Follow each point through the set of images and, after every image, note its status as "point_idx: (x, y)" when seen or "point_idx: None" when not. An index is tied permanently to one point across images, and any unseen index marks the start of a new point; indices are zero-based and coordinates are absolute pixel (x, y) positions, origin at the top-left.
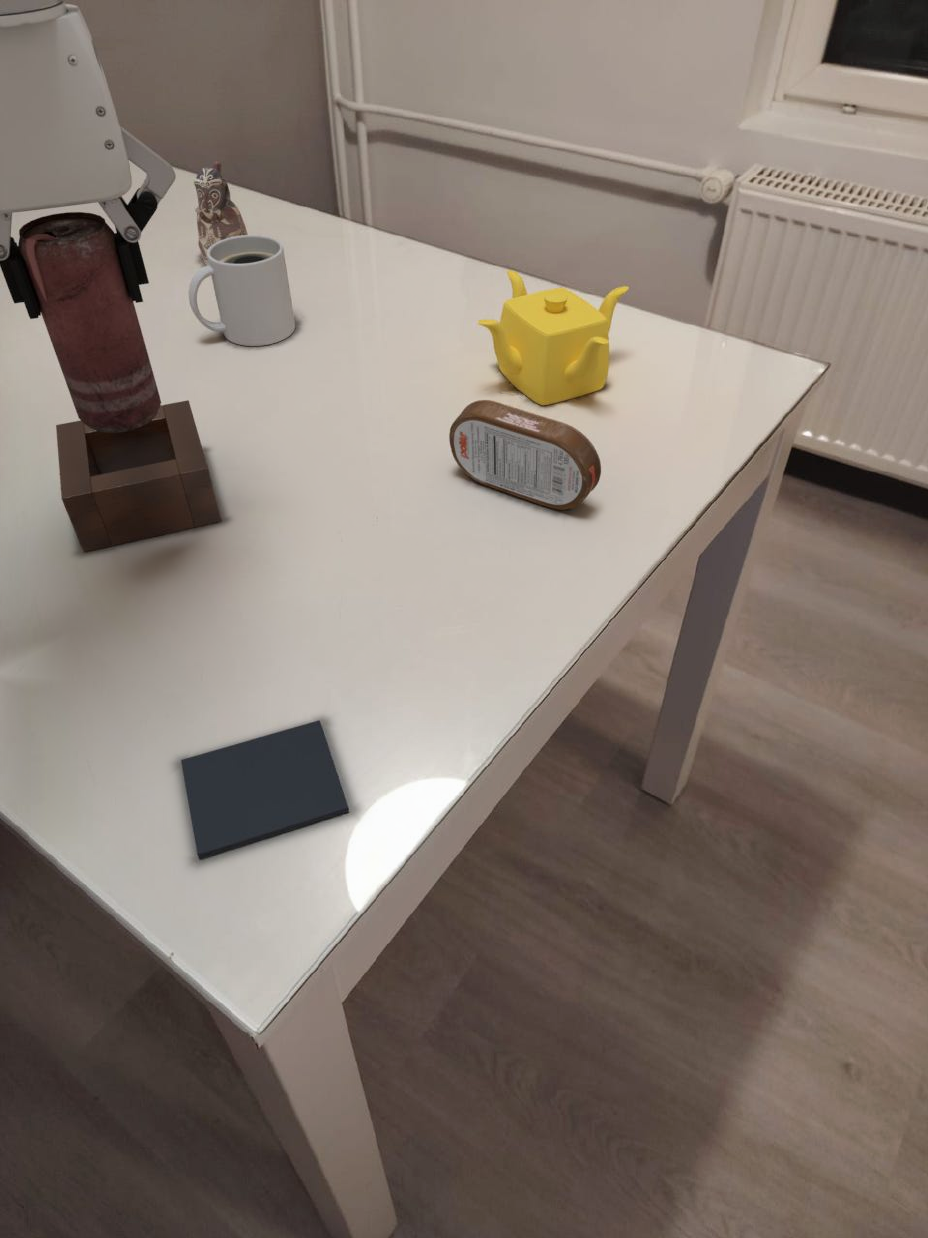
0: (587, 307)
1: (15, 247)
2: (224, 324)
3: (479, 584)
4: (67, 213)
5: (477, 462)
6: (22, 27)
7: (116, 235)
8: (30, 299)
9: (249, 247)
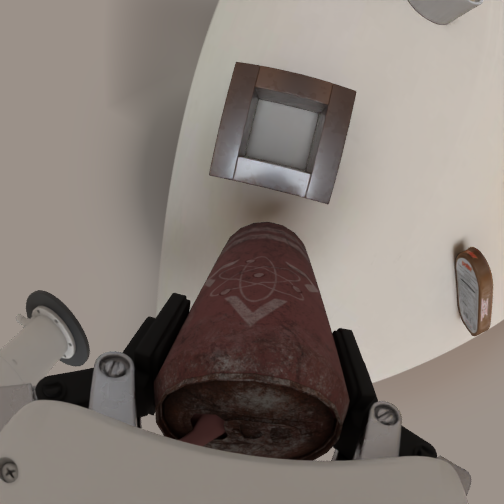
0: None
1: (149, 397)
2: None
3: (396, 332)
4: (288, 383)
5: (462, 270)
6: None
7: (348, 408)
8: None
9: None
